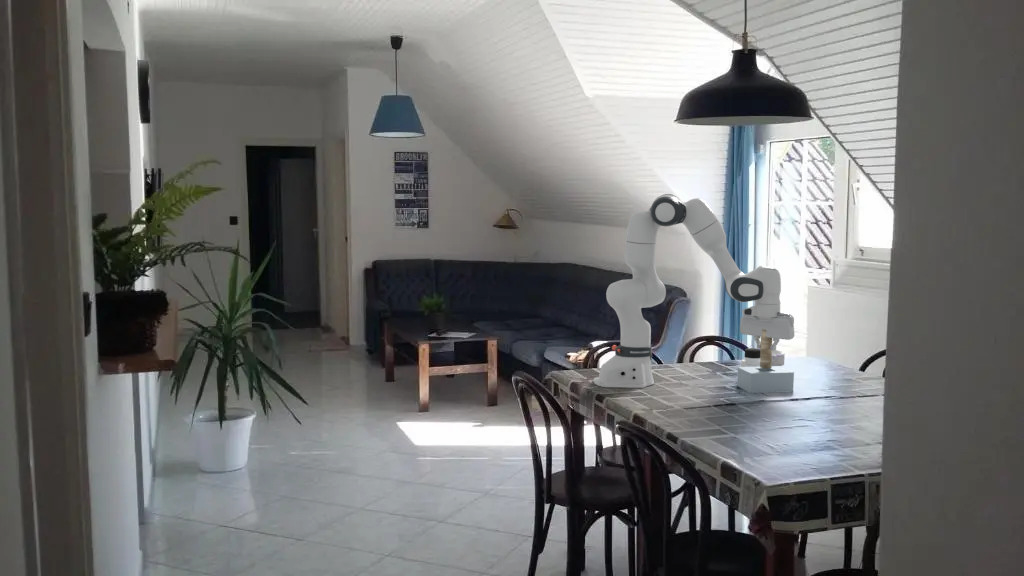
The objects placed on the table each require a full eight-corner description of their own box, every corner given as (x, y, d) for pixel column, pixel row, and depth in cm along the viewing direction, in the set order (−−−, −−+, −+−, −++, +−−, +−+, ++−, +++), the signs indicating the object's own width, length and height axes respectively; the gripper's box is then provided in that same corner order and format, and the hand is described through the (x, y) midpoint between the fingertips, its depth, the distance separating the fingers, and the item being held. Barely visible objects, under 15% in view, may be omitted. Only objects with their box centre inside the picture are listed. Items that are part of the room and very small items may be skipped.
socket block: (750, 392, 312) (751, 373, 311) (737, 385, 324) (737, 367, 323) (793, 391, 314) (793, 372, 314) (778, 384, 326) (779, 366, 325)
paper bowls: (770, 376, 342) (771, 356, 341) (737, 370, 353) (737, 351, 352) (791, 371, 352) (792, 351, 351) (758, 365, 363) (758, 346, 362)
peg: (763, 368, 316) (764, 330, 314) (758, 366, 320) (759, 328, 318) (773, 368, 316) (774, 329, 315) (768, 366, 320) (769, 328, 319)
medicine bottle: (763, 381, 331) (764, 350, 330) (744, 381, 332) (745, 350, 330) (759, 377, 339) (760, 347, 337) (740, 377, 339) (741, 346, 337)
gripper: (798, 313, 311) (797, 351, 312) (747, 308, 326) (746, 345, 327) (789, 314, 306) (788, 353, 308) (738, 309, 321) (737, 347, 323)
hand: (766, 349), depth 317 cm, fingers closed on peg, 4 cm apart
